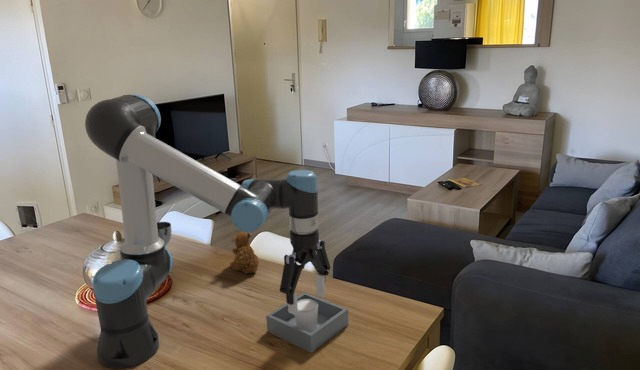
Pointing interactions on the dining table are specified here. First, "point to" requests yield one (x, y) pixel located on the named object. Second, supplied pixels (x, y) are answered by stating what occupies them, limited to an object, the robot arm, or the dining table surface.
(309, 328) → the white cup
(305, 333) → the charcoal bin
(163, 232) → the wine glass
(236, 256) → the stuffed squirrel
